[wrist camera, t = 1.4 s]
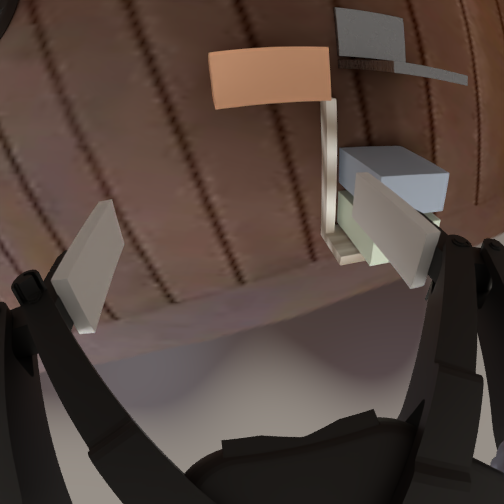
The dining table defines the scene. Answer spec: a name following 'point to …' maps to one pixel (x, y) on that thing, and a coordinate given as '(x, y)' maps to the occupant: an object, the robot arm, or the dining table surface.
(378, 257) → the book sage
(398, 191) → the book slate
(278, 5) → the dining table surface
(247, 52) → the book rust
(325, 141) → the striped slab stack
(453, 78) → the bookend
